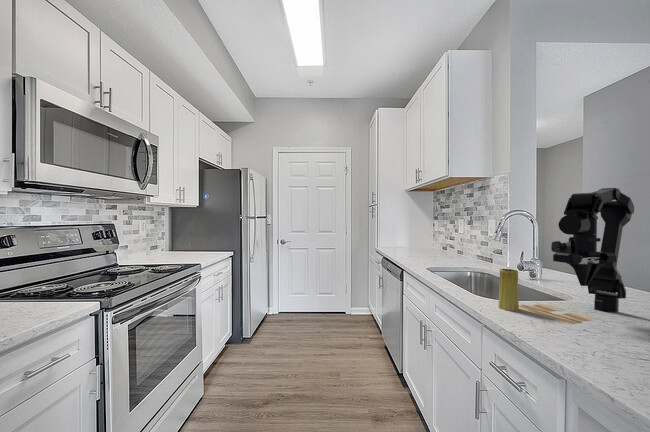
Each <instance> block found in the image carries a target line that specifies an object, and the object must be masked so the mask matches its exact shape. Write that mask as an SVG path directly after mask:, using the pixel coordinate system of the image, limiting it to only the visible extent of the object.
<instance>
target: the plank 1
mask: <svg viewBox="0 0 650 432" xmlns="http://www.w3.org/2000/svg"><path fill="white" fill-rule="evenodd" d="M529 306H530V307H533V308H536V309H540V310H543V311H547V312H550V313H552V312H560V311H565V309H563V308H559V307H556V306H552V305H549V304H544V303H543V304H532V305H529Z"/></svg>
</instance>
